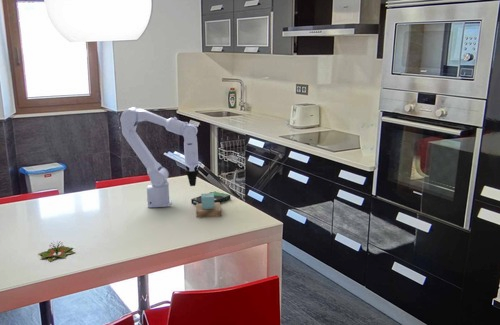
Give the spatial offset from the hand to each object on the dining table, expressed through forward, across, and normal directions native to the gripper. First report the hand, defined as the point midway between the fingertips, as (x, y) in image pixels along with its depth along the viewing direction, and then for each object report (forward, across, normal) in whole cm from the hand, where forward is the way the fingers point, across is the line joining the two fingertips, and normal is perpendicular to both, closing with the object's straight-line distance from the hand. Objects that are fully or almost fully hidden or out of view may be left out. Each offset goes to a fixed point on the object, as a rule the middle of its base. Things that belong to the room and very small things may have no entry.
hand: (192, 183), depth 198 cm
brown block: (+10, -12, -6) cm, 17 cm away
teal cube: (+7, -12, -6) cm, 15 cm away
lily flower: (+10, -43, +46) cm, 64 cm away
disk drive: (+10, +2, -8) cm, 13 cm away
